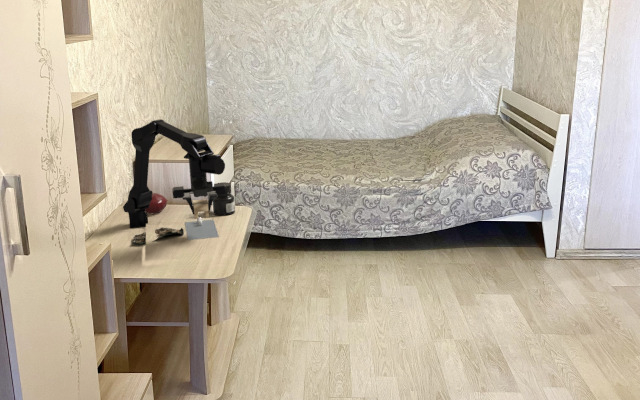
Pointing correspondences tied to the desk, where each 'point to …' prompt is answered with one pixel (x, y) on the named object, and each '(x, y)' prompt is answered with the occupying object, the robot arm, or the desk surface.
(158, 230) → the decorative rock
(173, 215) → the desk surface
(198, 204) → the block
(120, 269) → the desk surface
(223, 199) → the ink bottle
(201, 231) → the pin plate
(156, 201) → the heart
